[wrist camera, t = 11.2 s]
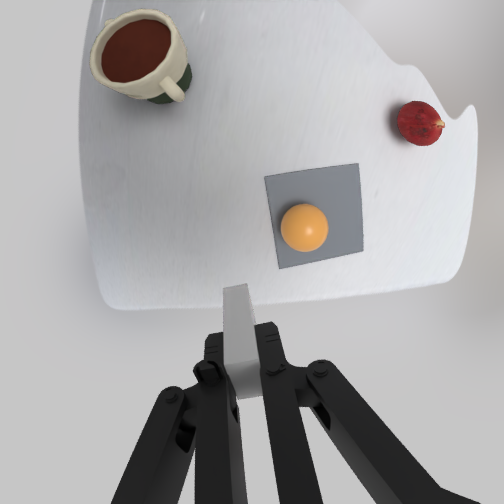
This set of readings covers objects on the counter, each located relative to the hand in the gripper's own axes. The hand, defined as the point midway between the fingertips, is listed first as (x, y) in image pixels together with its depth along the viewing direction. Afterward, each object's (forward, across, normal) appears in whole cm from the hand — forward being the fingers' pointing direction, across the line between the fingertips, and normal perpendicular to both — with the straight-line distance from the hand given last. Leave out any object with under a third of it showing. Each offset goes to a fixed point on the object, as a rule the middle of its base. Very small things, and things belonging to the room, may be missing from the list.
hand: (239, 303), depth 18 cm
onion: (+18, +25, +9) cm, 32 cm away
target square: (+17, +11, -1) cm, 20 cm away
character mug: (+18, -4, +19) cm, 26 cm away
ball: (+15, +8, -2) cm, 17 cm away
